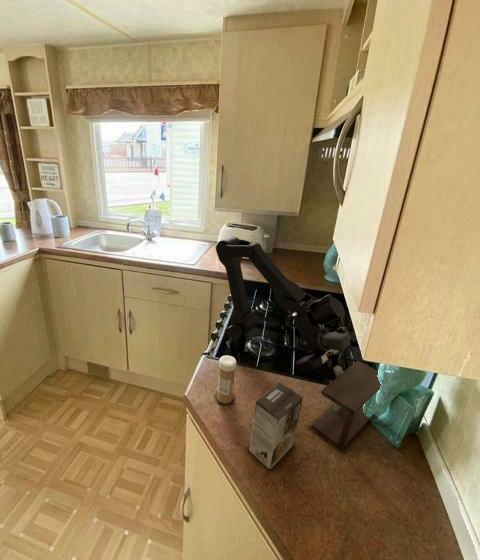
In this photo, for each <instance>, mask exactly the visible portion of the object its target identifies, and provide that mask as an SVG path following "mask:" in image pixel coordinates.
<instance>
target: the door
mask: <svg viewBox="0 0 480 560" xmlns="http://www.w3.org/2000/svg"><path fill="white" fill-rule="evenodd" d="M333 370H334V372H335V374H336V377H338V376H339V375H341V374H342V373H343V372H344V371H345V370H343V367H342V366H341V367H339V366H336V367H334V368H333ZM331 382H332V381H330V380H329V384H330V383H331ZM333 406H334V407H333ZM333 406H332V407H333V410H334V411H336V412H337V411H338V410H339V409H340V408H341V407H340V406H339V405H337V404H336V403H333Z"/></svg>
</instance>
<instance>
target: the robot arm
mask: <svg viewBox="0 0 480 560" xmlns="http://www.w3.org/2000/svg"><path fill="white" fill-rule="evenodd" d="M215 252H216V255H217V258H218V260H219V262H220V263H221V264H222V265H223V266H224V268H225V273H226V277H227V282H228V287H229V288H228V289H229V293H230V296H231V302H232V306H233V311H232V315H231V325H230V326H228V327H227V328H225V329H224V333H225V336H226V337H228V338H229V340H226V341H225V344H226V347H227V350H228V351H229V353H230V354H232V355H233V354H245V353H249V349H248V347H247V337H248V336H247V335H248V333H250V332H251V331H253V330H254V329H255V328H256V327H257V326H258V322H259V318H258V316H257V310H256V309H252V307H250V305H249V301H248V295H247V291H246V286H245V280H244V276H243V270H242V266H241V265H242V260H243V258H245V259H246V258H247V259H248V260H249V261H250V262H251V263H252V265H253V266H254V267H255V268H256V270H257V271H258V273H260V275H261V276H262V277H263V278H264V280H265V281H266V283H268V285H269V286H270V287H271V288H272V290H273V293H274V294H273V295H274V299H275V300H276V302H277V304H278V305H279V306H280V309H282V310H283V311H284V312H286V313H288V315H287V317H286V322H290V321H293V320H294V323H295V325H296V327H297V328H298V330H299V332H300V334H301V335H302V337H300V341H301V342H305V343H306V345H307V347H308V349H309V350H308V351H307V354H308V355H306V356H303V357H302V358H300V359H298V360H297V361H296V363H295V367H296V369H297V371H298V373H303V372H309V371H313V370H316V371H317V372H318V373H320V374H321V375H323V376H324V377H325V378H327V379H328V380H329V382H330V381H333V380H335V379H336V378H337V377H336V374H335V372H334V370H333V368H334V367H336V366H339V367H341V368H342V363H341V357H342V355H343V353H344V351H345V350H346V348H348V347H350V346H351V344H352V342H351V340H350V339H351V338H352V337H353V336H352V335H351V333H350V331H349V329H348V328H347V327H346V326H340V327H338V328H337V330H336V331H333V332H330V331H329V329H328V328H327V327H326V326H325V327H322V325H327V324H329V323H332V322H335V321H338V320H340V319H343V318H344V317H346V316H345V315H346V311H345V307H344V305H343V304H342V302H341V301H339V299H337V298H335V297H333V296H332V294H330V293H328V294H326V295H325V296H323V297H321V298H318V297H316V296H313V295H312V294H310V293H307V292H305V290H304V289H303V288H302V287H301V286H299V285H298V284H297V283H296V282H294V281H292V280H290V279H288V278H287V277H286V276H285V275H284V274H283V272H282V271H281V270H280V269H279V267H278V266H277V265H276V263H275V262H274V261H273V260H272V259H271V258H270V256H269V255H268V253H266V252H265V250H264V249H263V247H262V245H261V244H260V243H259V242H257V241H256V242H255V241H250V240H247V239H240V238H239V237H237V236H230V237H227V238H225V239H222V240H219V241H218V242H217V244H216V245H215Z"/></svg>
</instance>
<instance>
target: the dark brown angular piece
mask: <svg viewBox="0 0 480 560" xmlns="http://www.w3.org/2000/svg"><path fill="white" fill-rule="evenodd" d="M343 371H344V372H343V373H342V374H341V375H339V376H338V377H337V378H336V379H335V380H333V381H332V382H331V383H330V382H329V384H327V385H326V386H325V387H324V388H322V389H321V391H320V395H322V396H323V397H325V398H326V399H328V400H330V401H331V402H333V404H335V403H336V404H337V405H339V406H340V407H341V408H340V409H339V410H338V411H337V412H336V411H334V410H333V407H334V405H333V406H331V407H330V408H329V409H328V410H327V411H326V412H325V413H324V414H323V415H322V416H321V417H319V418H318V420H316V421H315V422H314V423H313V424H312V426H311V429H312V430H313V431H314V432H316V433H317V434H318V435H320V436H321V437H322V438H324V439H325V440H326V441H327V442H329V443H330V444H332V445H333V446H335V447H336V449H338V450H339V451H343V450H344V449H345V448H346V447H347V446H348V444H349V443H350V442H351V441H352V440H353V439H354V438H355V437H356V435H357V434H358V433H360V431H361V430H362V429H363V428H364V427H365V425H366V424H367V423H368V422H369V421H370V420H371V419H372V418H371V417H370V418H369V417H367V416H366V415H365V414H364V413H363V405H364V404H366V403H367V402H368V401H370V400H371V398H372V397H373V396H375V394H376V392H377V391H378V390H379V389H380V386H381V384H380V382H379V380H378V377H377V375H378V371H379V370H376V369H375V368H372V367H371V366H370V365H367V364H366V363H363V362H361V360H356V361H355V362H353V363H352V364H351V365H350V366H348V368H346V369H345V370H343Z"/></svg>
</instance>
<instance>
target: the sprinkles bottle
mask: <svg viewBox="0 0 480 560" xmlns="http://www.w3.org/2000/svg"><path fill="white" fill-rule="evenodd" d="M218 366H219V367H218V368H219V369H218V378H217V379H218V380H217V394H216V398H217V400H218V402H220V403H222V404H230V403H232V401H233V399H234V390H235V389H234V388H235V374H236V369H237V360H236V358H235V357H234V356H231V355H222V356H221V357H220V358H219V360H218Z"/></svg>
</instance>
